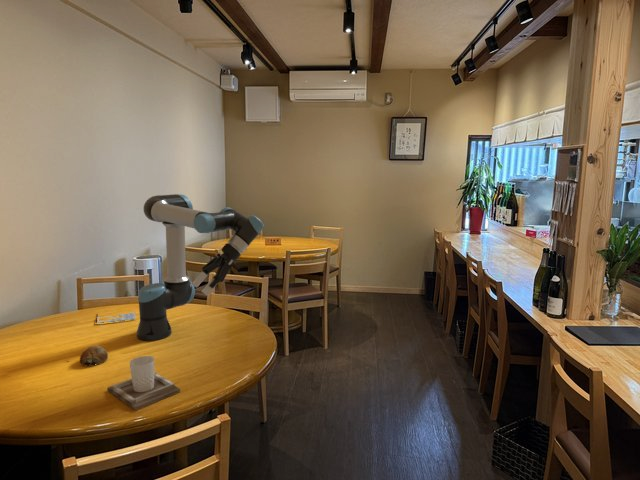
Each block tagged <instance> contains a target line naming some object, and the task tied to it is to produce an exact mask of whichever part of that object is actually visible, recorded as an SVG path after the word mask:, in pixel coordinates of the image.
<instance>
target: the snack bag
mask: <svg viewBox="0 0 640 480" xmlns="http://www.w3.org/2000/svg"><path fill="white" fill-rule="evenodd" d="M117 316H119V317H122V318H116V319H110V320H108V321H99V318H100V317H97V316H96V318H98V319H97V320H98V321H97V323H104V322H115V321H125V320H134V319H136V312H135V311H134V312H133V313H128V314H122V315H116V316H104V317H117ZM123 317H125V318H123ZM101 318H102V317H101Z"/></svg>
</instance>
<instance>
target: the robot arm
mask: <svg viewBox="0 0 640 480" xmlns="http://www.w3.org/2000/svg"><path fill="white" fill-rule="evenodd" d="M143 213H144V216H145V217H146V218H147V220H150V221H153V222H157V223H162V225H163V226H164V227H165V242H166V243H165V245H166V246H165V247H166V249H165V250H166V270H167V271H166V272H167V273H166V277H164V279H163V282H155V283H149V284H146V285H143V286H141V288H140V289H139V291H138V295H137V296H138V297H137V300H138V308H139V309H138V310H139V323H138V327H137V331H136V337H137V339H138V340H140V341H145V342H146V341H147V342H150V341H157V340H162V339H166V338H167V337H169V336H171V335H172V327H171V323H170V322H169V319H168V317H167V315H168V314H167V310H171V309H174V308H177V307H181V306H185V305H187V304H189V303H190V302H192V301H193V299H194V297H195V293H196V290H195V289H197V288H198V287H199V286H200V284H202V283H203V281H204V280H206V278H207V277H208V276H209V274H210V273H211V272H213V271H214V270H216V269H217V270H216V272H215V275H214V276H213V277H212V278H211V279H210V281H208V283H207V284H206V285H205V286H204V287H203V288H202V290H201V293H203V294H204V295H205V296H208V295H209V294H210V293H211V292H212V291H213V289H215V287H216V286H217V284H219V283H220V282H221V283H222V282H224V280H225V278H226V277H227V275H228V273H229V271H230V269H231V267H232V266H233V265H234V264H235V262H236V261H237V260H238V259H239V258H240V257H241V256H242V255H241V254H243V253H244V252H245V251H247V250H248V249H247V248H248V247H249V246H250V245H251V243H252V242H253V241H254V240H255V239H256V238H257V237H258V236H259V235H260V233H261V232H262V231H263V229H264V228H265V225H264V222H263V221H262V220H261V219H260V218H259V217H257V216H256V215H253V214H251V215H250V216H248V217H246V216H245V215H243V214H241V213H240V212H239V211H237V210H236V209H233V208H231V207H229V206H228V207H227V206H226V207H223V208H222V209H220V211H219V212H218V211H217V212H206V211H201V210H197V209H194V207H193V203H192V201H191V199H189V197H188V196H187V195H185V194H178V193H177V194H176V193H175V194H163V195H161V194H160V195H158V194H157V195H154V196H151V197H148V199H146V201H145V203H144V204H143ZM186 227H187V228H192V229H194V230H196V232H197V233H199V234H211V233H215V232H222V231H228V230H231V231H233V232H234V234H232V236H231V237H230V238H229V239H228V240H227V243H225V244H224V245H223V247H222V248H221V249H220V250H221V252H222V253H220V252H218V253H217V254H216V255H215V256H214V257H213V258H212V259H211V260H209V261H208V262H207V263H206V264H205V265H203V267H202V268H201V269H202V270H201V271H200V273H199V274H198V275H197V276H196V278H195V279H193V281H191V280H190V277H189V276H188V275H187V272H186V271H187V270H186V269H187V267H186V266H187V263H186V262H187V261H186V259H187V258H186V229H185V228H186Z"/></svg>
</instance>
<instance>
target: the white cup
mask: <svg viewBox="0 0 640 480" xmlns="http://www.w3.org/2000/svg"><path fill="white" fill-rule="evenodd" d="M129 369H130V375H131V379H132V383H133V390H134V391H135V392H146V391H149V390H151V389H152V388H154V374H155V373H156V372H155V357H154V356H150V355H143V356H137V357H134V358H132V359H131V360H130V361H129Z"/></svg>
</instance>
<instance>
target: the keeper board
mask: <svg viewBox="0 0 640 480" xmlns="http://www.w3.org/2000/svg"><path fill="white" fill-rule="evenodd" d="M106 389H107V392H108V393H110V394H111V393H112V396H114V395H115V396H114V397H115V398H117V399H118V398H119V399H118V400H120V401H121V400H122V401H123V402H122V401H121V402H122V403H124V404H125V403H126V404H125V405H127V406H128V407H129V406H130V407H129V408H131V409H133V410H134V411H138V410H141V409H143V407H144V408H146V407H148V406H150V405H153V404H155V403H158V402H159V401H162V400H164V399H167V398H170V397H172V396H174V395H176V394H179V393H180V392H181V388H179V387H177V386H176V384H175V383H174V382H172V381H171V380H169V379H167V378H165V377H164V376H162V375H160V374H158V373H157V372H155V374H154V388H152V389H151V390H149V391H146V392H135V391H134V390H133V383H132V378H130V379H127V380H124V381H121V382H119V383H117V384H114V385H111V386H107V388H106Z"/></svg>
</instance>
